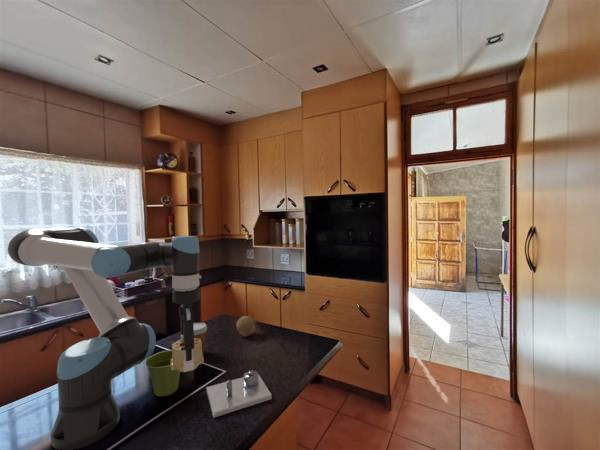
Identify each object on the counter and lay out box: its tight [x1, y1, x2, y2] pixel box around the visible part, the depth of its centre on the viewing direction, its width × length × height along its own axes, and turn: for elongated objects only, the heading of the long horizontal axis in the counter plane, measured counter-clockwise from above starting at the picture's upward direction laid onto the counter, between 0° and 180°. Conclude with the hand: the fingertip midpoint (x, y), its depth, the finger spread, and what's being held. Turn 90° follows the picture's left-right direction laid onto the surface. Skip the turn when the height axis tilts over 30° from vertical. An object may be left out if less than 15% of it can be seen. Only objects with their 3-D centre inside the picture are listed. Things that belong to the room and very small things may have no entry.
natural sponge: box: [236, 315, 256, 338], centre depth 138 cm, size 9×9×10 cm
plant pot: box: [145, 349, 181, 398], centre depth 94 cm, size 12×12×11 cm
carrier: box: [205, 369, 272, 418], centre depth 91 cm, size 18×14×6 cm
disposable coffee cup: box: [193, 322, 208, 355], centre depth 120 cm, size 10×10×12 cm
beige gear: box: [171, 338, 205, 373], centre depth 84 cm, size 9×9×6 cm
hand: (187, 362), depth 84 cm, fingers closed on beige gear, 9 cm apart
